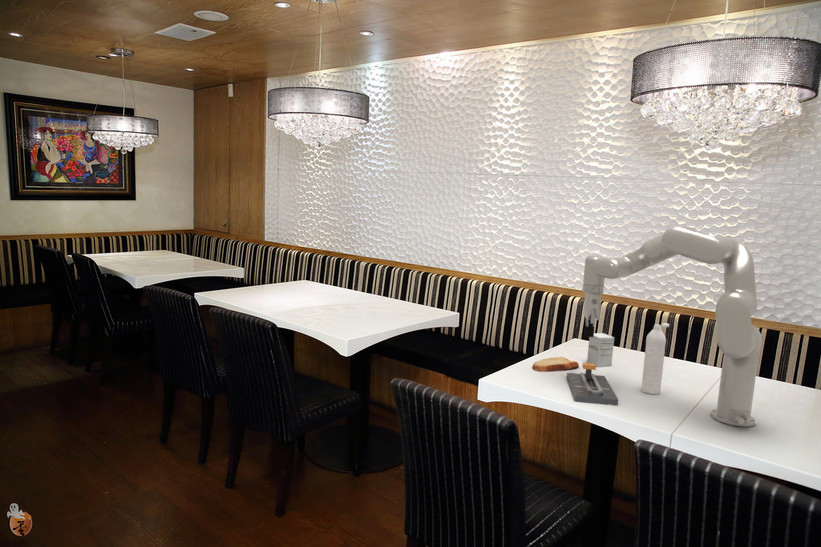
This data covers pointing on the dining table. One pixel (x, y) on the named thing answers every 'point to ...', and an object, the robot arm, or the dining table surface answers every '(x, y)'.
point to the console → (591, 389)
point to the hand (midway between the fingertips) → (588, 336)
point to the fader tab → (588, 369)
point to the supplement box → (600, 350)
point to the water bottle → (654, 360)
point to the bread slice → (554, 364)
